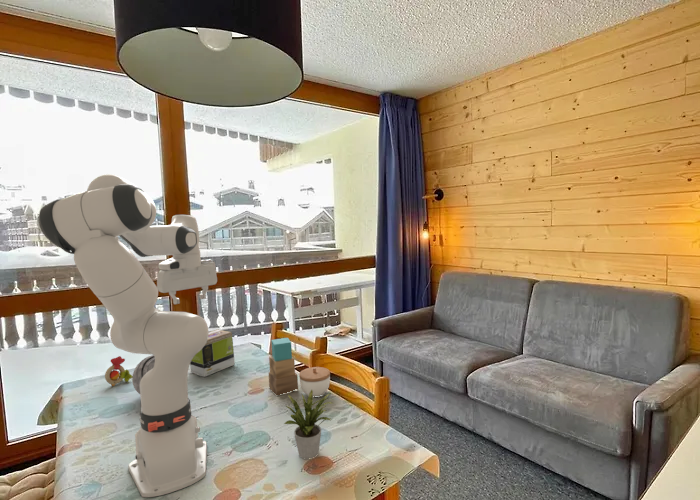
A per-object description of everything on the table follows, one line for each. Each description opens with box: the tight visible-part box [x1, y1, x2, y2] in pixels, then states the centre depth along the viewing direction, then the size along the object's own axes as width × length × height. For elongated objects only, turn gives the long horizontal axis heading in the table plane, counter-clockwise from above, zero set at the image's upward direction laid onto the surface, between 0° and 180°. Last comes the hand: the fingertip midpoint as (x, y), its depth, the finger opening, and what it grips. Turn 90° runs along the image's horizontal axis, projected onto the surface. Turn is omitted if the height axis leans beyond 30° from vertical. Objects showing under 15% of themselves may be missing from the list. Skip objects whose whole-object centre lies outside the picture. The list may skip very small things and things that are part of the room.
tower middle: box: [268, 355, 296, 379], centre depth 141 cm, size 7×7×6 cm
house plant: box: [283, 389, 333, 460], centre depth 101 cm, size 14×14×16 cm
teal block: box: [271, 337, 293, 361], centre depth 141 cm, size 6×6×6 cm
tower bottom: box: [268, 371, 299, 396], centre depth 142 cm, size 8×8×6 cm
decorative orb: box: [131, 354, 155, 395], centre depth 140 cm, size 15×14×15 cm
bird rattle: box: [104, 355, 133, 387], centre depth 152 cm, size 6×11×9 cm
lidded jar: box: [298, 366, 331, 397], centre depth 137 cm, size 11×11×9 cm
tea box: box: [189, 329, 236, 378], centre depth 163 cm, size 15×10×15 cm
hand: (190, 301), depth 136 cm, fingers open, 8 cm apart
